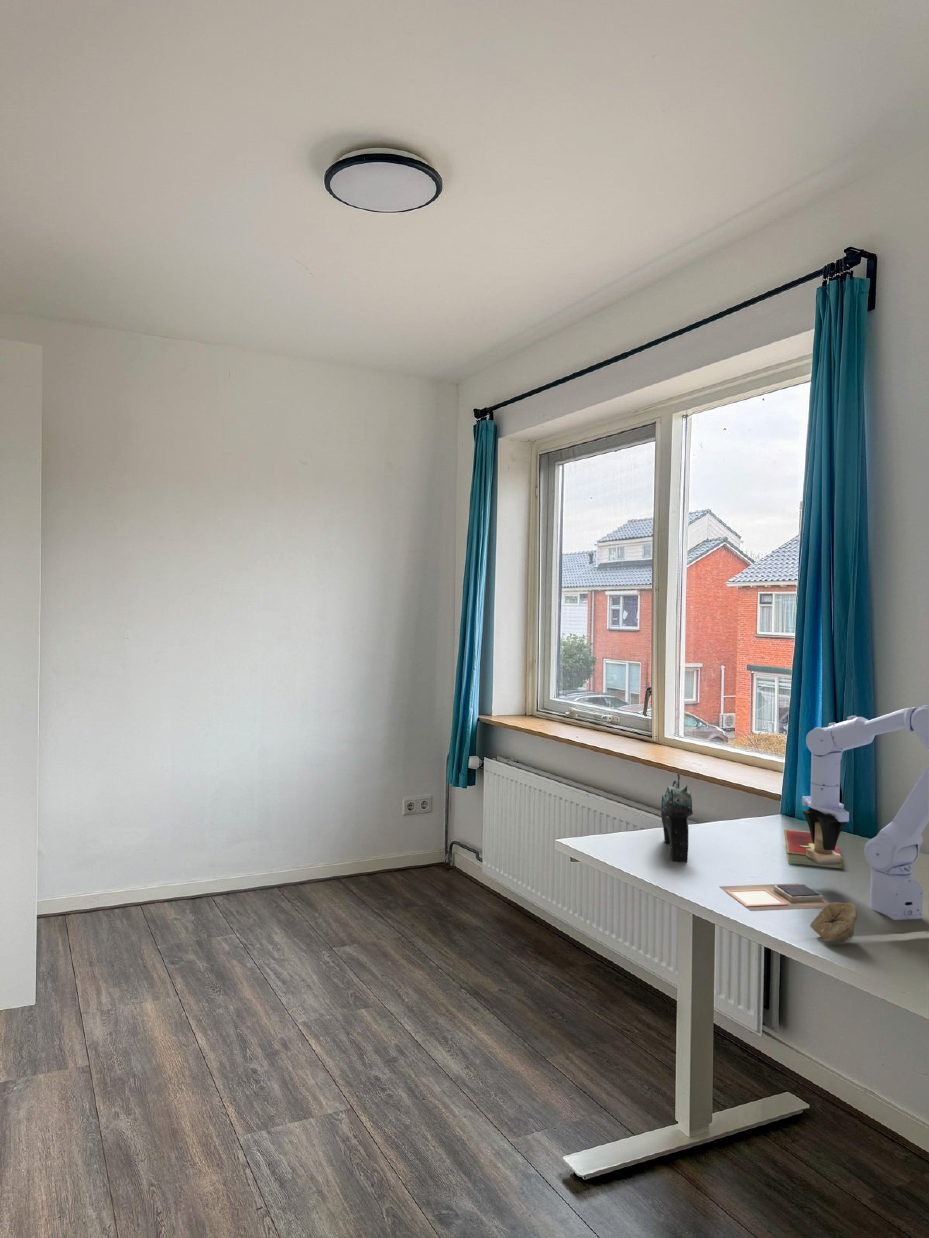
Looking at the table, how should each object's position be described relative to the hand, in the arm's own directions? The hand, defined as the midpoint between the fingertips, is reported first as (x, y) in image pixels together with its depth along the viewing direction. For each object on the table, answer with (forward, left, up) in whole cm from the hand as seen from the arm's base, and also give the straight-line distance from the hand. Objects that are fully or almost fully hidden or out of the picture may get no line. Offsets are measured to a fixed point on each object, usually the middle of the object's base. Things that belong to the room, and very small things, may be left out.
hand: (823, 846), depth 183 cm
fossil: (-24, +13, -10) cm, 29 cm away
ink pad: (-5, +9, -8) cm, 13 cm away
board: (-5, +14, -9) cm, 17 cm away
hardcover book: (+22, -11, -10) cm, 27 cm away
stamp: (0, 0, -3) cm, 3 cm away
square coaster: (-5, +18, -8) cm, 21 cm away
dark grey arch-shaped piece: (+30, +21, -10) cm, 38 cm away
